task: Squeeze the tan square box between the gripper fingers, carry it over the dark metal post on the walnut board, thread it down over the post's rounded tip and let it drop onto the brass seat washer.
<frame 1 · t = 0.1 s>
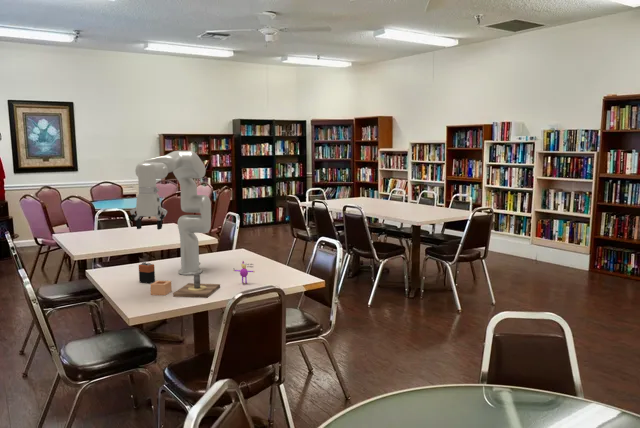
hand: (149, 228, 225), 31 cm above the table, tool pointing down, fingers open, 9 cm apart
tan square box: (161, 292, 233), on the table
battery: (147, 282, 253), on the table
wizard figurine: (244, 284, 249), on the table
post base: (197, 291, 235), on the table
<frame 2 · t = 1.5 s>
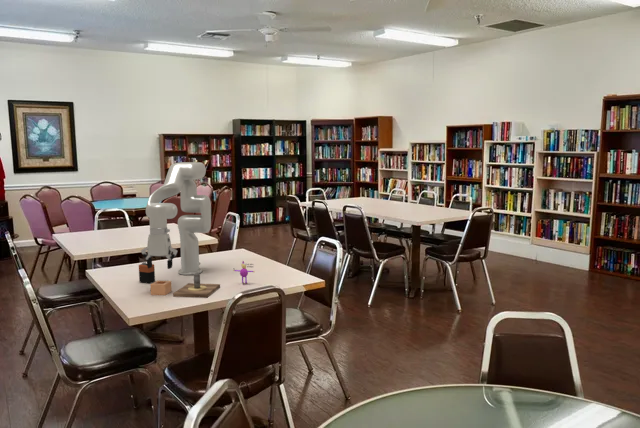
hand: (159, 268, 231), 12 cm above the table, tool pointing down, fingers open, 9 cm apart
nothing on the table moved.
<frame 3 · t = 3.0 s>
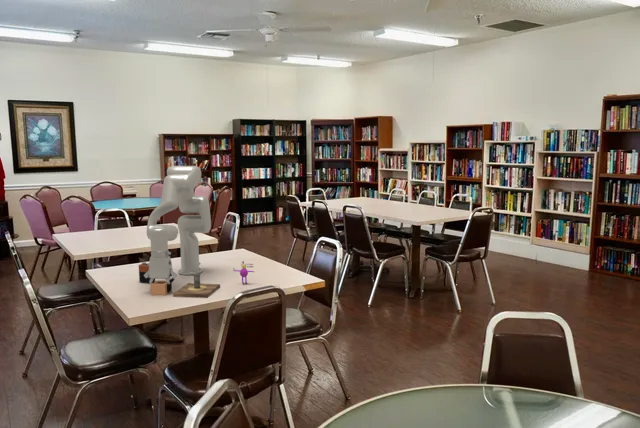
hand: (161, 291, 233), 1 cm above the table, tool pointing down, fingers closed on tan square box, 7 cm apart
tan square box: (161, 292, 233), on the table, touching gripper
everything else where it was.
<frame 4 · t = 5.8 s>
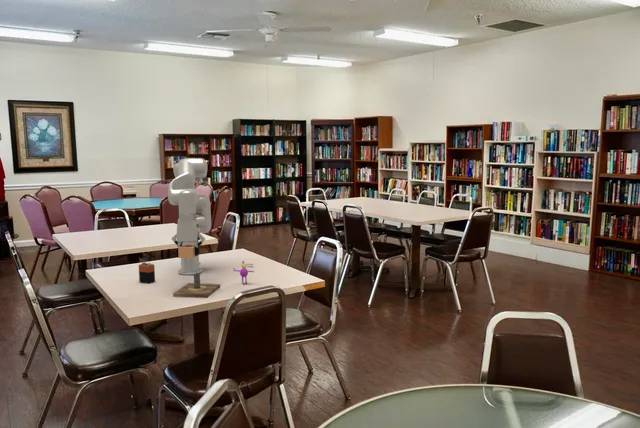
hand: (189, 254, 233), 18 cm above the table, tool pointing down, fingers closed on tan square box, 7 cm apart
tan square box: (188, 256, 233), point 17 cm above the table, touching gripper
everything else where it was.
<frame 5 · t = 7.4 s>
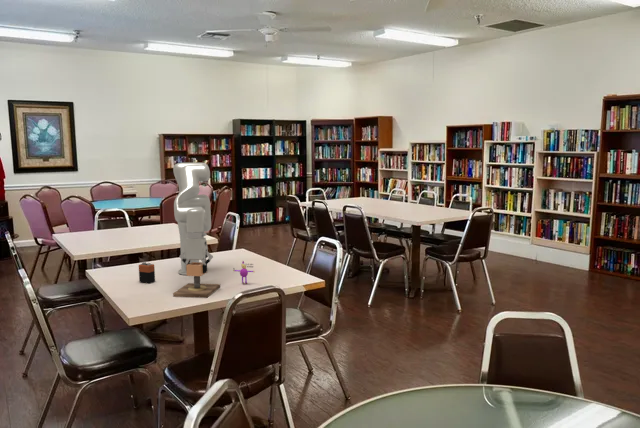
hand: (196, 272, 234), 9 cm above the table, tool pointing down, fingers closed on tan square box, 7 cm apart
tan square box: (196, 274, 234), point 8 cm above the table, touching gripper
everything else where it was.
when the fingers open (5 cm above the table, at t = 8.7 s): tan square box drops 2 cm, resting on post base.
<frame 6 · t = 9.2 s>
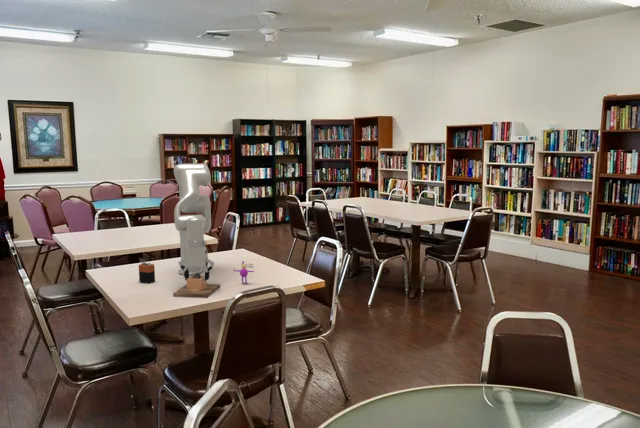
hand: (197, 279, 235), 6 cm above the table, tool pointing down, fingers open, 9 cm apart
tan square box: (197, 287, 235), point 2 cm above the table, touching post base
everything else where it was.
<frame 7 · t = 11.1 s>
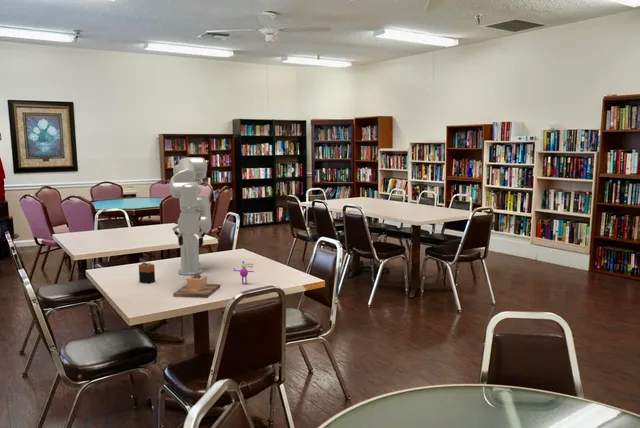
hand: (190, 245, 239), 21 cm above the table, tool pointing down, fingers open, 9 cm apart
nothing on the table moved.
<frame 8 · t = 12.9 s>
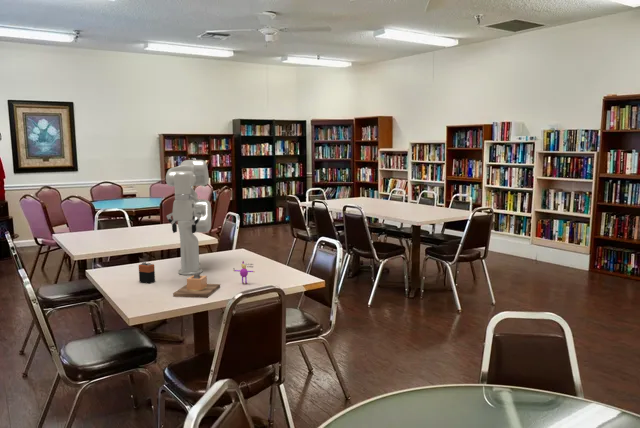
hand: (184, 232, 244), 26 cm above the table, tool pointing down, fingers open, 9 cm apart
nothing on the table moved.
at the end: tan square box 0.1 cm from the post base (horizontally); tan square box point 1.9 cm above the table; the gripper is holding nothing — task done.
